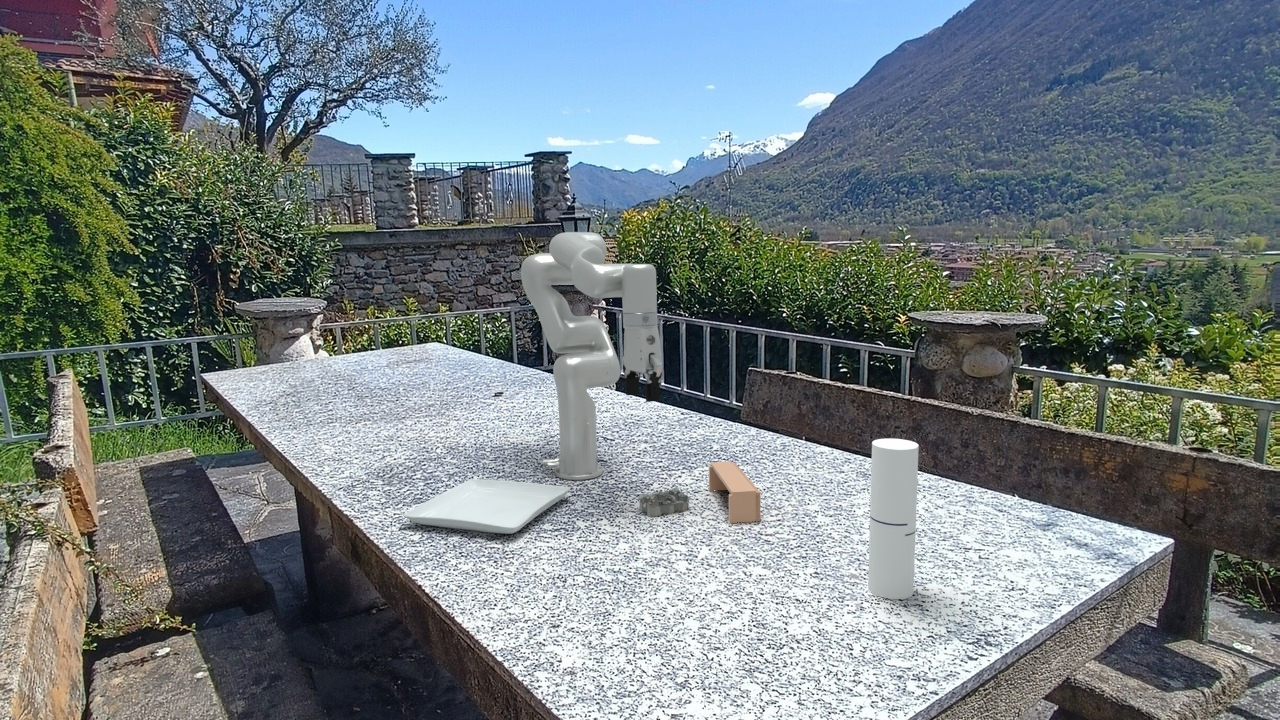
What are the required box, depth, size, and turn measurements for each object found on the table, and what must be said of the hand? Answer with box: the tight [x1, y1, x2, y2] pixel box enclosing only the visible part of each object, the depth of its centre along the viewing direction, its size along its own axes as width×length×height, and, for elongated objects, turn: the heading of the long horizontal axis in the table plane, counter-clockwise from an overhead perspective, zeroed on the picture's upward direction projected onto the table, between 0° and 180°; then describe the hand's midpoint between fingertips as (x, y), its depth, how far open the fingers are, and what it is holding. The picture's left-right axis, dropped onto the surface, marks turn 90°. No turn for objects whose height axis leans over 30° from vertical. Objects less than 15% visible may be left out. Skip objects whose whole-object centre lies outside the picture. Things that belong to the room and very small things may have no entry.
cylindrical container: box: [867, 438, 920, 600], centre depth 121 cm, size 7×7×25 cm
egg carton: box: [637, 486, 693, 518], centre depth 163 cm, size 11×8×4 cm
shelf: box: [708, 461, 761, 524], centre depth 165 cm, size 6×22×7 cm, turn 6°
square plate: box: [402, 478, 572, 535], centre depth 163 cm, size 27×27×4 cm
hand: (642, 397), depth 163 cm, fingers open, 9 cm apart
